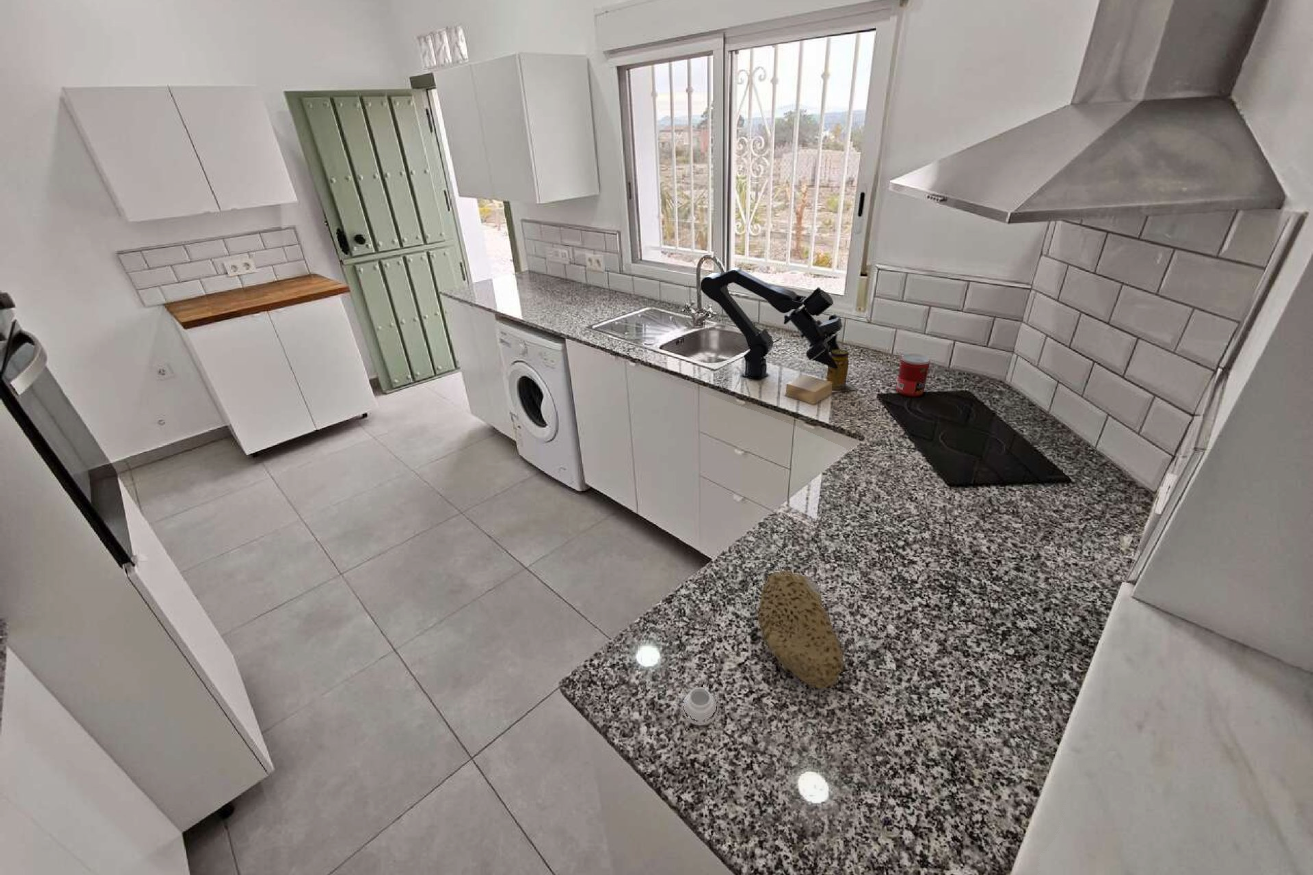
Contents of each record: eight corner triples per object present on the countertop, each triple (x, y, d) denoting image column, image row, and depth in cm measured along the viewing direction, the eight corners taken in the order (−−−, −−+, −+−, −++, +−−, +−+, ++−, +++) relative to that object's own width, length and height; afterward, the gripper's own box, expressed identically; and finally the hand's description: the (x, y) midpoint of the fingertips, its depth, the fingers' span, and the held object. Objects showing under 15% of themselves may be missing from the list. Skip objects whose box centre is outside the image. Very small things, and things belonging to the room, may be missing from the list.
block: (785, 395, 168) (786, 383, 166) (803, 385, 174) (804, 374, 172) (813, 404, 162) (815, 392, 160) (831, 394, 168) (832, 382, 166)
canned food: (919, 398, 162) (927, 364, 157) (892, 393, 166) (898, 359, 161) (926, 390, 167) (933, 356, 162) (899, 384, 172) (905, 351, 166)
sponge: (757, 596, 96) (745, 673, 78) (769, 559, 94) (759, 629, 75) (831, 620, 94) (837, 705, 75) (845, 583, 91) (854, 661, 73)
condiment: (820, 384, 174) (824, 349, 169) (845, 381, 175) (850, 346, 170) (830, 393, 168) (835, 356, 162) (856, 390, 169) (861, 354, 163)
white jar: (724, 716, 75) (705, 688, 79) (725, 702, 74) (705, 675, 78) (694, 733, 73) (675, 704, 77) (694, 719, 72) (675, 690, 76)
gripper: (820, 316, 155) (855, 357, 156) (833, 301, 170) (865, 338, 170) (791, 340, 162) (825, 379, 163) (806, 323, 177) (837, 358, 177)
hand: (839, 363), depth 168 cm, fingers open, 9 cm apart
